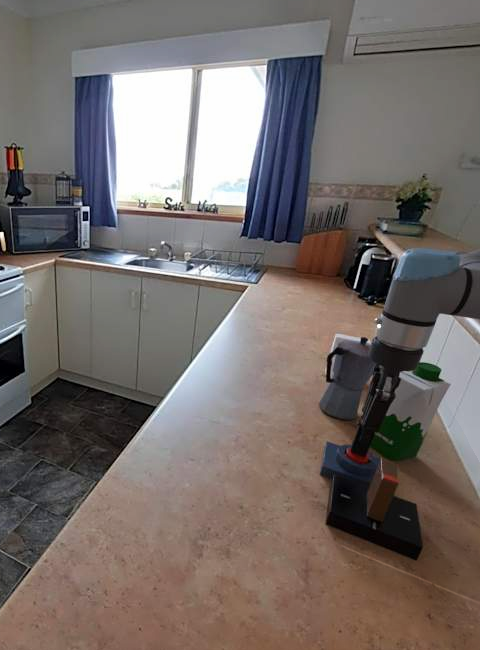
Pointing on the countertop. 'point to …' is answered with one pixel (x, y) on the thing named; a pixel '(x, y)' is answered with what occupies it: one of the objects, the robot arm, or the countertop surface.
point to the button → (357, 457)
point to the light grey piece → (337, 340)
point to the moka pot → (347, 379)
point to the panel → (391, 533)
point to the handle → (382, 489)
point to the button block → (347, 465)
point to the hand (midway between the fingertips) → (358, 452)
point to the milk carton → (410, 413)
